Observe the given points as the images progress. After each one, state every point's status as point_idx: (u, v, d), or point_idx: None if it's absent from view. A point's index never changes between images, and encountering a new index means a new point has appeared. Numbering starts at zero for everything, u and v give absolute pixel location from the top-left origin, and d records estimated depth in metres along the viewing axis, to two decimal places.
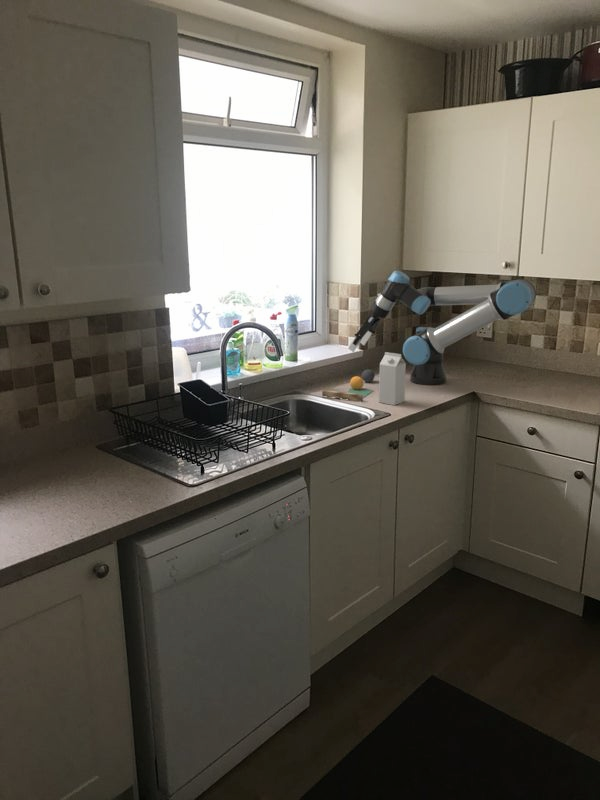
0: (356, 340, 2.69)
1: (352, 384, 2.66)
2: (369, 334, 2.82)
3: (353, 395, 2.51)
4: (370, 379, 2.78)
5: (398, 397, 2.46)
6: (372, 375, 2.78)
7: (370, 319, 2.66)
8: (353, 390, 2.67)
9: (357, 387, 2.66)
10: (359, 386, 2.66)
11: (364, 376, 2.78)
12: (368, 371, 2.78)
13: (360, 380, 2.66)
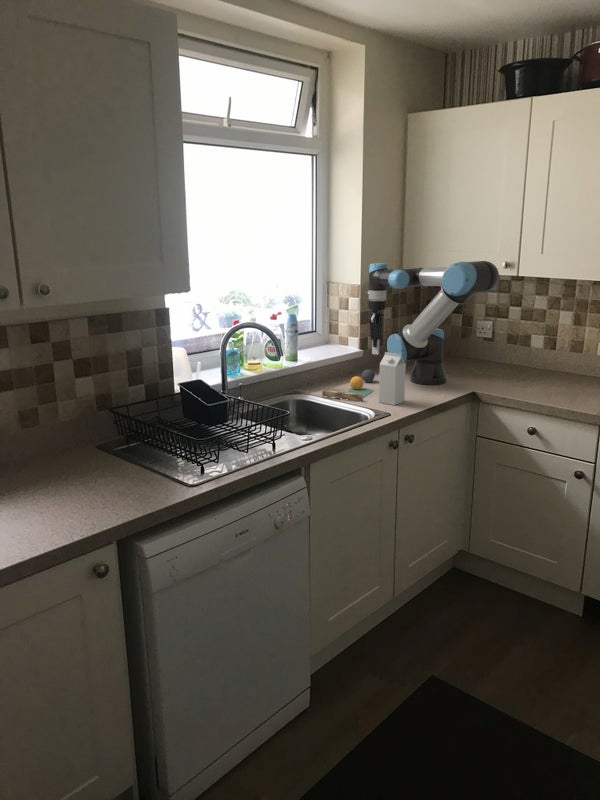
0: (374, 342, 2.84)
1: (352, 384, 2.66)
2: None
3: (353, 395, 2.51)
4: (370, 379, 2.78)
5: (398, 397, 2.46)
6: (372, 375, 2.78)
7: (372, 320, 2.78)
8: (353, 390, 2.67)
9: (357, 387, 2.66)
10: (359, 386, 2.66)
11: (364, 376, 2.78)
12: (368, 371, 2.78)
13: (360, 380, 2.66)
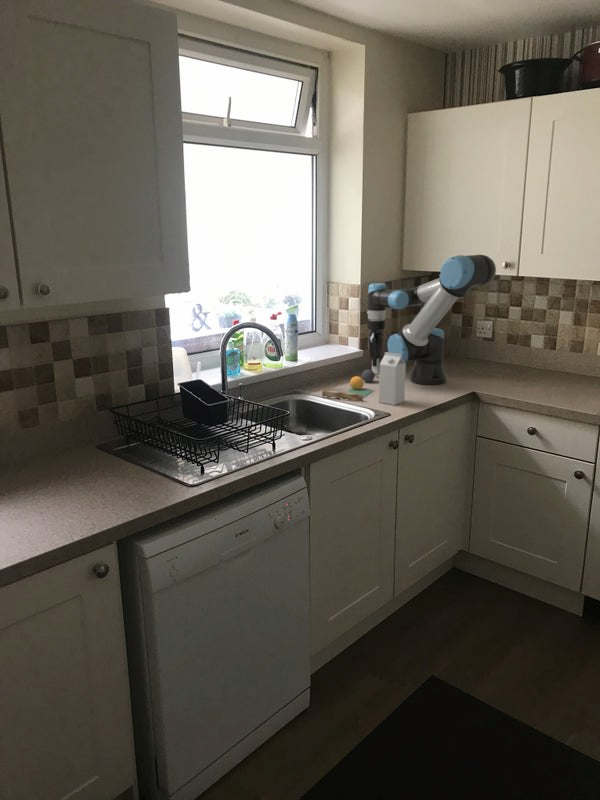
0: (374, 361, 2.86)
1: (352, 384, 2.66)
2: None
3: (353, 395, 2.51)
4: (370, 379, 2.78)
5: (398, 397, 2.46)
6: (372, 375, 2.78)
7: (371, 340, 2.79)
8: (353, 390, 2.67)
9: (357, 387, 2.66)
10: (359, 386, 2.66)
11: (364, 376, 2.78)
12: (368, 371, 2.78)
13: (360, 380, 2.66)
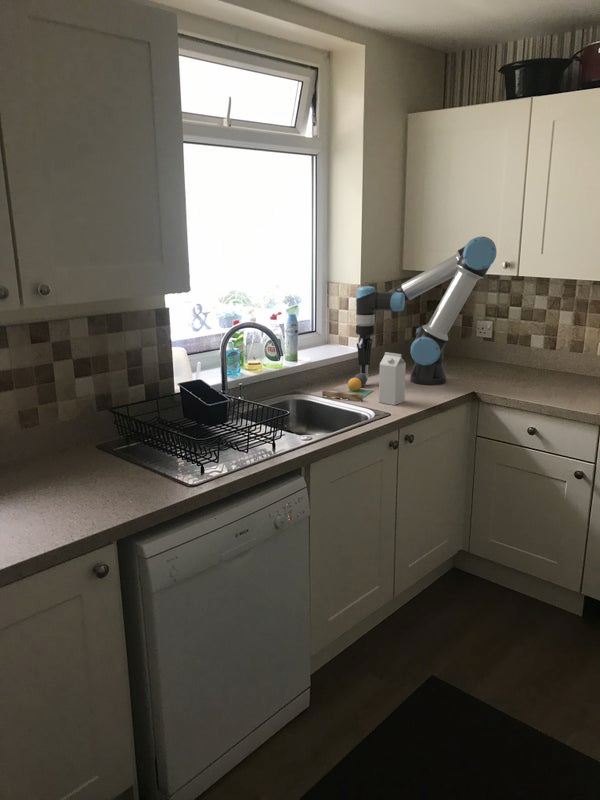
0: (362, 368, 2.73)
1: None
2: None
3: (353, 395, 2.51)
4: None
5: (398, 397, 2.46)
6: None
7: (359, 346, 2.67)
8: None
9: (356, 390, 2.66)
10: (358, 389, 2.65)
11: None
12: None
13: (357, 386, 2.63)
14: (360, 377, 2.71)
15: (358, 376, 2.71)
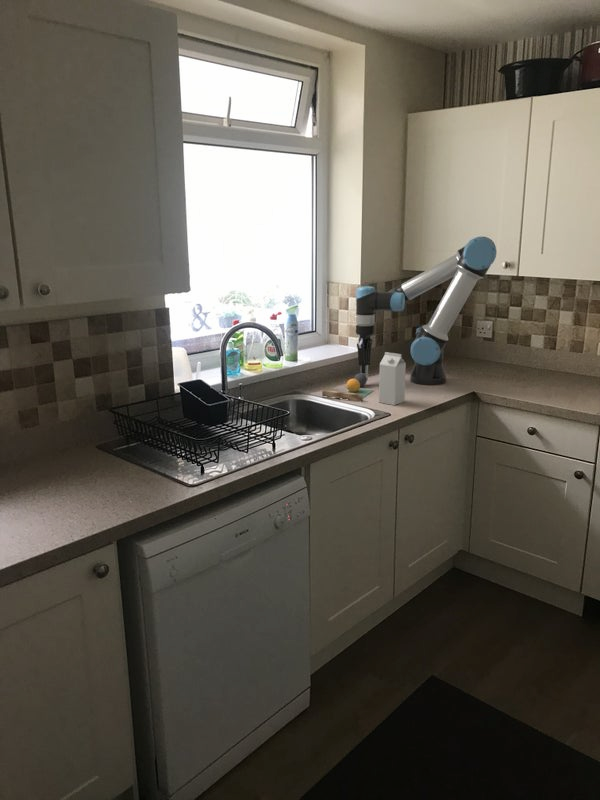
0: (362, 368, 2.73)
1: None
2: None
3: (353, 395, 2.51)
4: None
5: (398, 397, 2.46)
6: None
7: (359, 346, 2.67)
8: None
9: None
10: None
11: None
12: (360, 386, 2.73)
13: (356, 389, 2.62)
14: (360, 377, 2.71)
15: (358, 376, 2.71)
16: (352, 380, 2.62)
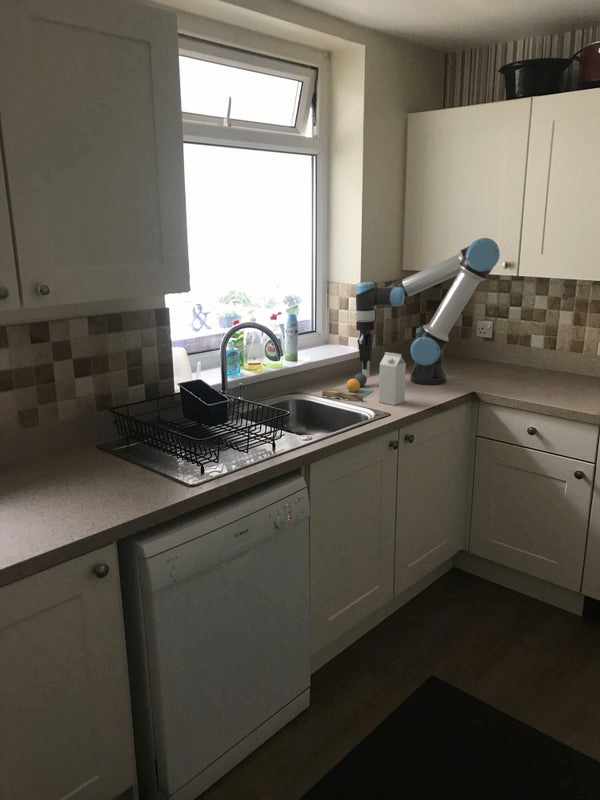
0: (364, 364, 2.73)
1: None
2: None
3: (353, 395, 2.51)
4: None
5: (398, 397, 2.46)
6: None
7: (360, 342, 2.66)
8: None
9: None
10: None
11: None
12: (360, 386, 2.73)
13: (356, 389, 2.62)
14: (360, 377, 2.71)
15: (358, 376, 2.71)
16: (352, 380, 2.62)
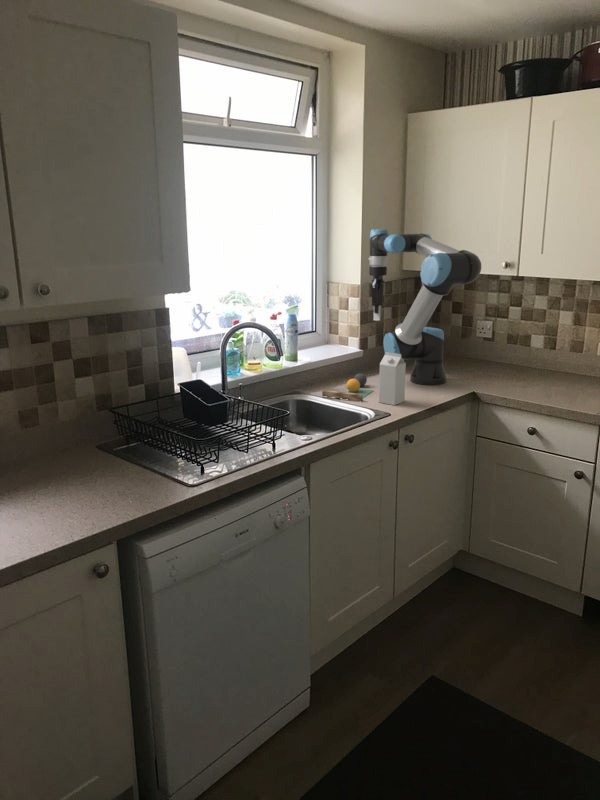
0: (376, 308, 2.86)
1: None
2: None
3: (353, 395, 2.51)
4: None
5: (398, 397, 2.46)
6: None
7: (373, 285, 2.80)
8: None
9: None
10: None
11: None
12: (360, 386, 2.73)
13: (356, 389, 2.62)
14: (360, 377, 2.71)
15: (358, 376, 2.71)
16: (352, 380, 2.62)
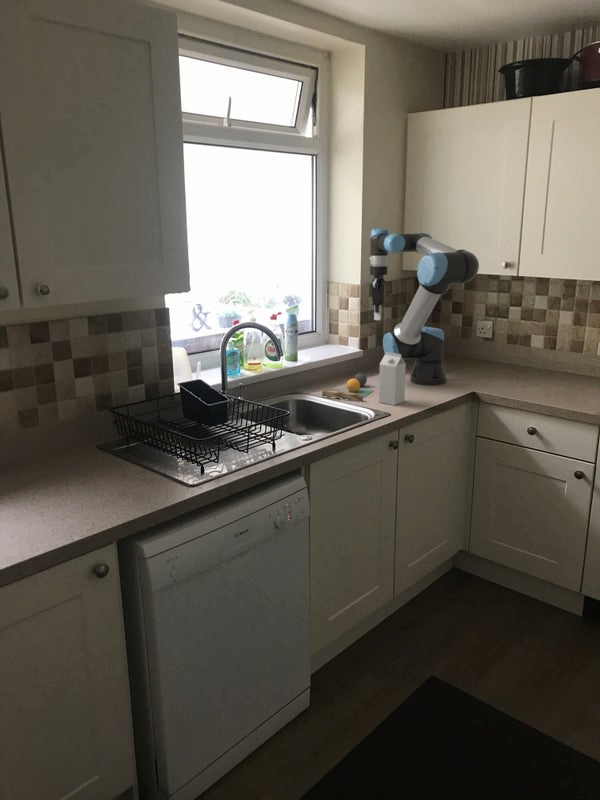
0: (376, 307, 2.87)
1: None
2: None
3: (353, 395, 2.51)
4: None
5: (398, 397, 2.46)
6: None
7: (373, 285, 2.81)
8: None
9: None
10: None
11: None
12: (360, 386, 2.73)
13: (356, 389, 2.62)
14: (360, 377, 2.71)
15: (358, 376, 2.71)
16: (352, 380, 2.62)
